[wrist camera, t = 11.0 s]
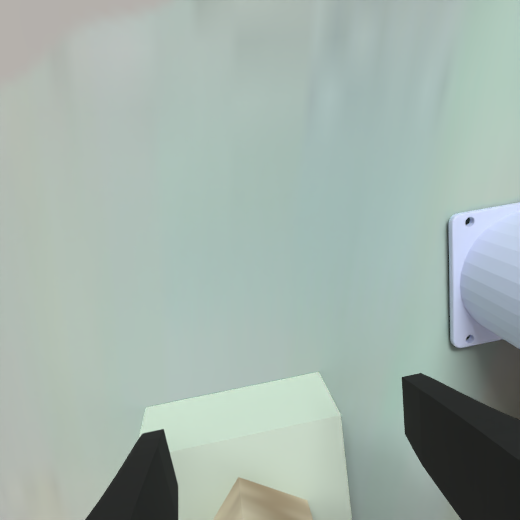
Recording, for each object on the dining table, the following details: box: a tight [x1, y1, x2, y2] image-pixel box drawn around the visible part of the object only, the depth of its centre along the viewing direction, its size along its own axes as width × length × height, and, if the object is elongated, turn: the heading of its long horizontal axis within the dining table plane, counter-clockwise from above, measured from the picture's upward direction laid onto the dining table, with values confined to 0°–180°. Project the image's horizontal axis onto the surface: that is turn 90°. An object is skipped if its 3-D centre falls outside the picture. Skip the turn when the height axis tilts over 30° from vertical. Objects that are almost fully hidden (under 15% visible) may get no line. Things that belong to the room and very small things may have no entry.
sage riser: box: [139, 372, 352, 520], centre depth 23 cm, size 10×10×4 cm
